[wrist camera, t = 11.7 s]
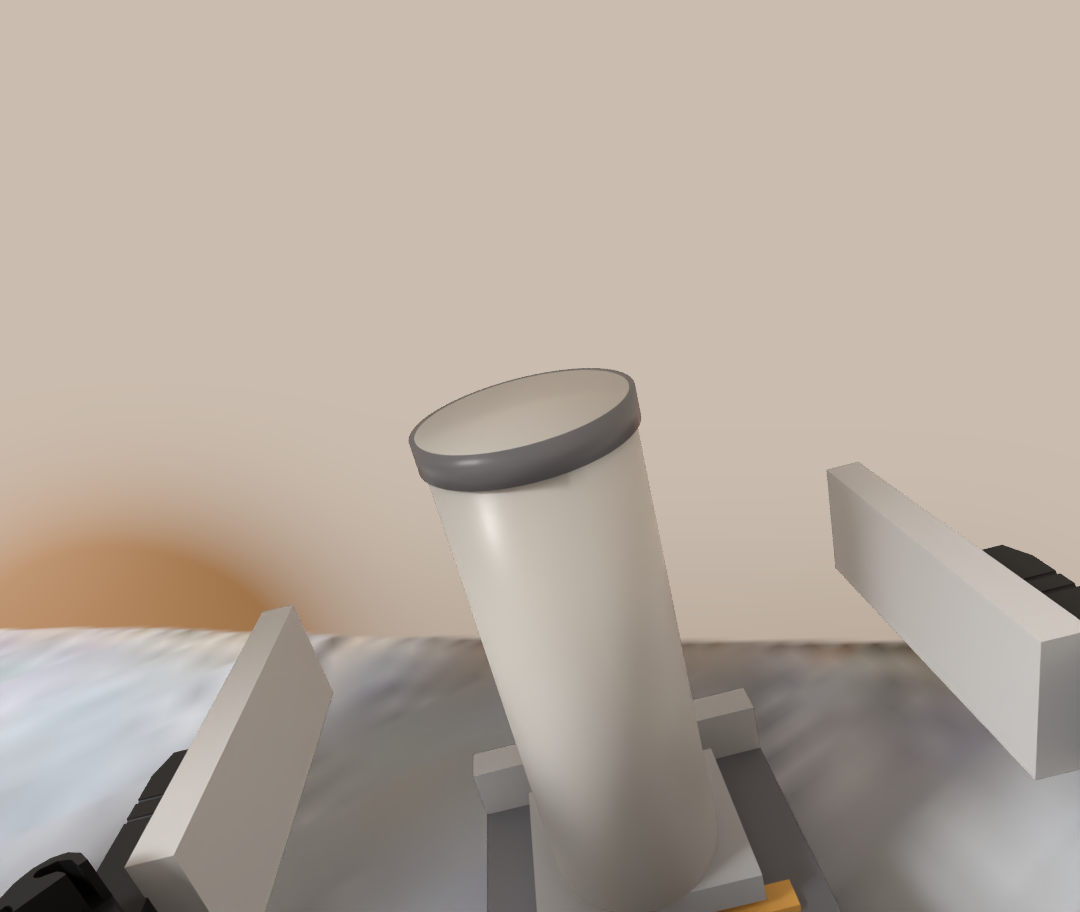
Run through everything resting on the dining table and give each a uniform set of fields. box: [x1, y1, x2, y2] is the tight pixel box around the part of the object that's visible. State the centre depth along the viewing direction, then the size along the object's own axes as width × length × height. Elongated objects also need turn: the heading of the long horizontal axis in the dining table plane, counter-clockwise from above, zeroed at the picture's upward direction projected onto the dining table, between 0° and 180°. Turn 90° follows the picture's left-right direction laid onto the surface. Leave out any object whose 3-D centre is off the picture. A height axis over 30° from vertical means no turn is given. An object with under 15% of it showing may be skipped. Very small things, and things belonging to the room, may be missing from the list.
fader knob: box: [409, 368, 767, 912], centre depth 14 cm, size 4×5×12 cm
